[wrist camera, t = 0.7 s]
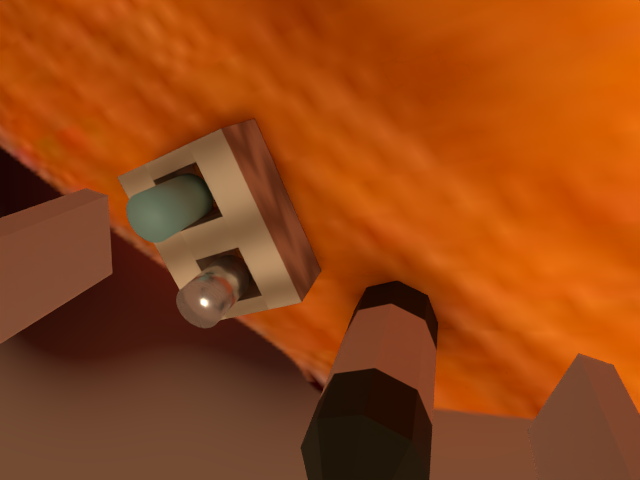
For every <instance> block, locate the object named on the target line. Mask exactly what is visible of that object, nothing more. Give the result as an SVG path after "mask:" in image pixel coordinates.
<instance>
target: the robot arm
mask: <svg viewBox="0 0 640 480" xmlns="http://www.w3.org/2000/svg"><path fill="white" fill-rule="evenodd" d="M111 274H112V261H111V242H110V225H109V207H108V195H105V194H102V193H99V192H96V191H93V190H90V189H87V188H85V189H83V190H80V191H77V192H74V193H71V194H68V195H65V196H62V197H60V198H57V199H54V200H51V201H48V202H45V203H42V204H40V205H37V206H34V207H31V208H28V209H26V210H22V211H20V212H17V213H14V214H11V215H8V216H5V217H2V218H0V343H2V342H3V341H5V340H7V339H8V338H10V337H12V336H13V335H15V334H16V333H18V332H19V331H21V330H23V329H24V328H26V327H28V326H29V325H31V324H32V323H34V322H35V321H37V320H39V319H40V318H42V317H43V316H45V315H47V314H48V313H50V312H51V311H53V310H55V309H56V308H58V307H59V306H61V305H62V304H64V303H66V302H67V301H69V300H71V299H72V298H74V297H75V296H77V295H79V294H80V293H82V292H83V291H85V290H87V289H88V288H90V287H91V286H93V285H94V284H96V283H98V282H99V281H101V280H103V279H104V278H106V277H107V276H109V275H111ZM528 434H529V438H530V443H531V448H532V453H533V458H534V463H535V468H536V473H537V478H538V480H640V415H639V413H638V411H637V409H636V407H635V405H634V403H633V401H632V399H631V398H630V396H629V394H628V392H627V390H626V388H625V386H624V384H623V382H622V380H621V379H620V377H619V375H618V373H617V371H616V369H615V367H614V365H612V364H609V363H606V362H603V361H600V360H597V359H594V358H591V357H588V356H585V355H582V354H579V353H578V355H577V356H576V358H575V359H574V361H573V362H572V364H571V365H570V367H569V368H568V370H567V371H566V373H565V374H564V376H563V377H562V379H561V380H560V382H559V383H558V385H557V386H556V388H555V389H554V391H553V392H552V394H551V395H550V397H549V398H548V400H547V401H546V403H545V404H544V406H543V407H542V409H541V410H540V412H539V413H538V415H537V416H536V418H535V419H534V421H533V422H532V424H531V425H530V427H529V428H528Z"/></svg>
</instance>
